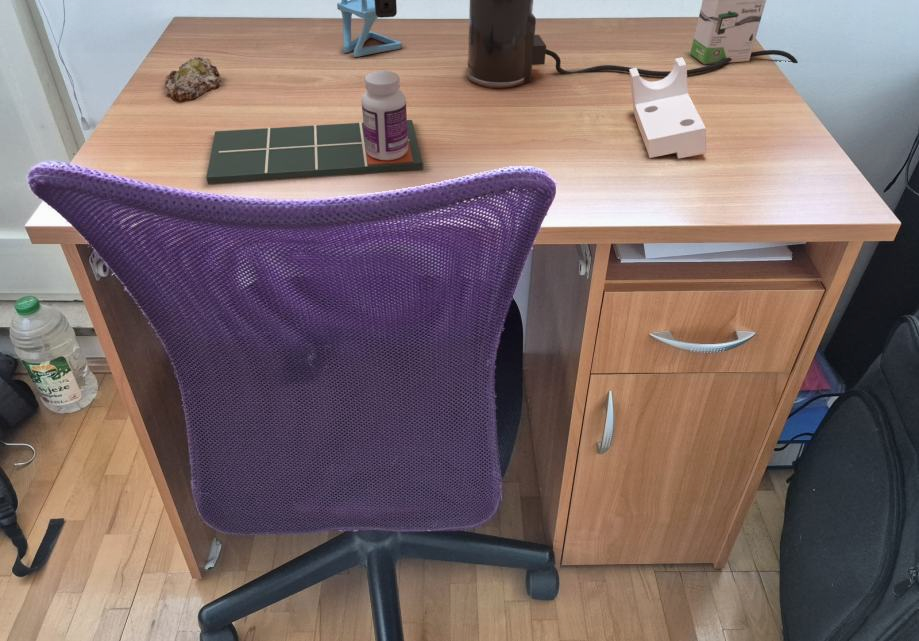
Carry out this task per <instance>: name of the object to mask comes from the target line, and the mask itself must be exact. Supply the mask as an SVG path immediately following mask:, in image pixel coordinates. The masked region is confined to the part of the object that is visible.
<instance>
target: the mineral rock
mask: <svg viewBox="0 0 919 641" xmlns="http://www.w3.org/2000/svg"><path fill="white" fill-rule="evenodd" d="M220 81H221V79H220V72H219V70H218V68H217V66H216V65H214V62H212V61H211V59H209V58H208V57H203V56H202V57H200V56H195V57H194V58H190V59H187V60H186V62H184V63H182V64H181V65H180V66H179V67H178V70H172V71H171V72H170V73H169V74H167V75H166V77H165V83H164V86H165V90H164V92H165V93H166V94H167V95H170V97H171V98H173V99H178V100H179V102H183V101H185V100H192V99H196V98H198V97H200V96H203V95H204V94H205V93H206V92H207V91H209V90H212V89H216V88H217V87H219V85H220Z"/></svg>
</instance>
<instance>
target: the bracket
mask: <svg viewBox="0 0 919 641" xmlns="http://www.w3.org/2000/svg"><path fill="white" fill-rule="evenodd" d="M687 67H688V66H687V62H686V61H685V59H684V58H683V56H681V57H676V58H675V59H674V65H673V68H672V69H671V70H670V71H671V73H670V74H669V75H668V76H664V78H662V79H660V80H656V81H650V80H646V79H644V78H643V77H641V75H640V74H639V73H638V70H637V69H638V68H637V67H631V68H632V69H629V71H630V72H629V81H630V91H631V100H632V111H633V116H634V119H635V121H636V124H637V127H638V130H639V132H640V135H641V139H642V141H643V144H644V147H645V149H646V152H647V155H648V158H649V159H652V158H657V157H662V156H666V155H671V154H675V155H676V157H677V160H678V159H684V158H689V157H693V156H694V157H695V156H699V155H704V154H707V127H706V126H705V124H704V122H703V120H702V118H701V116H700V114H699V111H697V108H696V106H695V104H694V102H693V101H692V99H691V96H690V94H689V91H688V90H689V89H688V88H689V87H688V75H687V70H688V69H687Z"/></svg>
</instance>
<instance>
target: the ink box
mask: <svg viewBox="0 0 919 641" xmlns="http://www.w3.org/2000/svg"><path fill="white" fill-rule="evenodd" d="M766 3H767V0H702V2H701V6H700V10H699V14H698V17H697V18H698V19H697V23H696V28H695V31H694V35H693V40H692V44H691V48H690V52H689V54H690V55H691V56H692V57H693V58H695V59H696V60H697V61H699V62H700V63H702V65H713V64H716V63H718V62H720V61H722V60H724V59H726V58H731V59H732V60H731V61H730V62H728V63H740V62H749V61H750V60H751V57H750V56H751V52H753V49H754V44H755V41H756V38H757V35H758V32H759V28H760V24H761V20H762V16H763V14H764V10H765V6H766ZM728 63H727V64H728Z"/></svg>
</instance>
